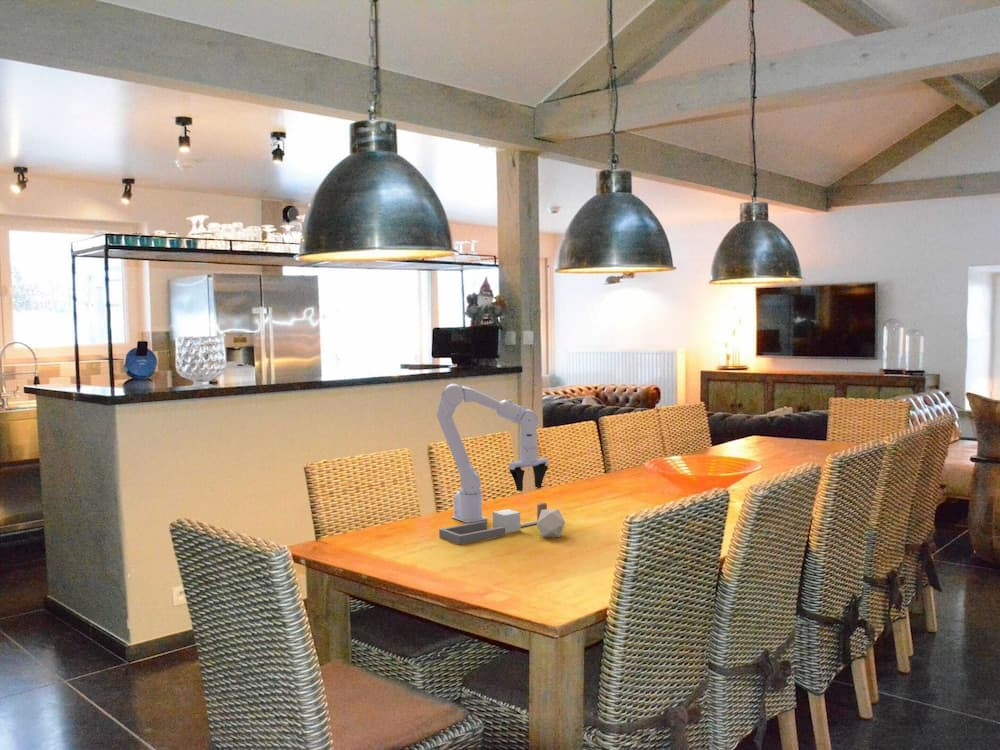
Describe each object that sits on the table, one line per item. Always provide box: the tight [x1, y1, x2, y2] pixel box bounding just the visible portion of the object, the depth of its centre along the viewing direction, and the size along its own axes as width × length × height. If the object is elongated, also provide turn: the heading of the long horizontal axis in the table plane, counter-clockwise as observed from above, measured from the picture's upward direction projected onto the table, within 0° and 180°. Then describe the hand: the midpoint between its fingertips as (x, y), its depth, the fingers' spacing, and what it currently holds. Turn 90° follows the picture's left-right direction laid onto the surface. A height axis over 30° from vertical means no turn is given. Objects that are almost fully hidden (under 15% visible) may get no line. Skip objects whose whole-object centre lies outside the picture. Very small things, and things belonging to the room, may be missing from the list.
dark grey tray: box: [438, 520, 506, 546], centre depth 259 cm, size 11×16×2 cm
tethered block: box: [492, 502, 548, 534], centre depth 270 cm, size 6×18×6 cm, turn 126°
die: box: [535, 508, 566, 538], centre depth 258 cm, size 8×9×10 cm
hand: (528, 489), depth 281 cm, fingers open, 7 cm apart
